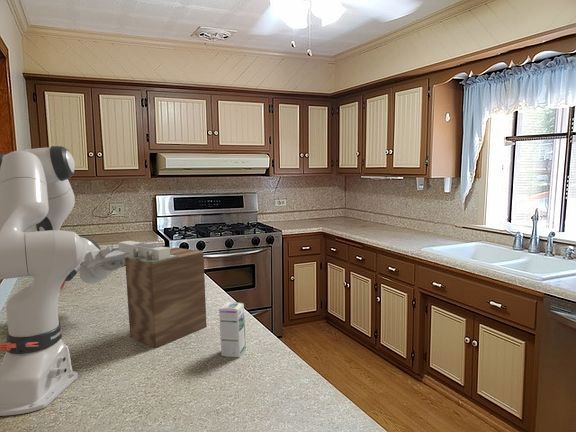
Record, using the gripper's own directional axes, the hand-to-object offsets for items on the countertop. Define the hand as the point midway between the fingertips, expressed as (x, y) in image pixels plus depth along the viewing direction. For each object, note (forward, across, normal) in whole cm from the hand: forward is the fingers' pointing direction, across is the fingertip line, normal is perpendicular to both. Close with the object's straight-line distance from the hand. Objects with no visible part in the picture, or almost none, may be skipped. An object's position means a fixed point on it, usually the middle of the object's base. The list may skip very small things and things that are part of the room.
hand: (124, 245), depth 142 cm
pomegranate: (-72, +3, -8) cm, 73 cm away
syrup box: (+25, +6, +46) cm, 53 cm away
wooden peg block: (0, +4, +32) cm, 33 cm away
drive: (+9, 0, +7) cm, 11 cm away
